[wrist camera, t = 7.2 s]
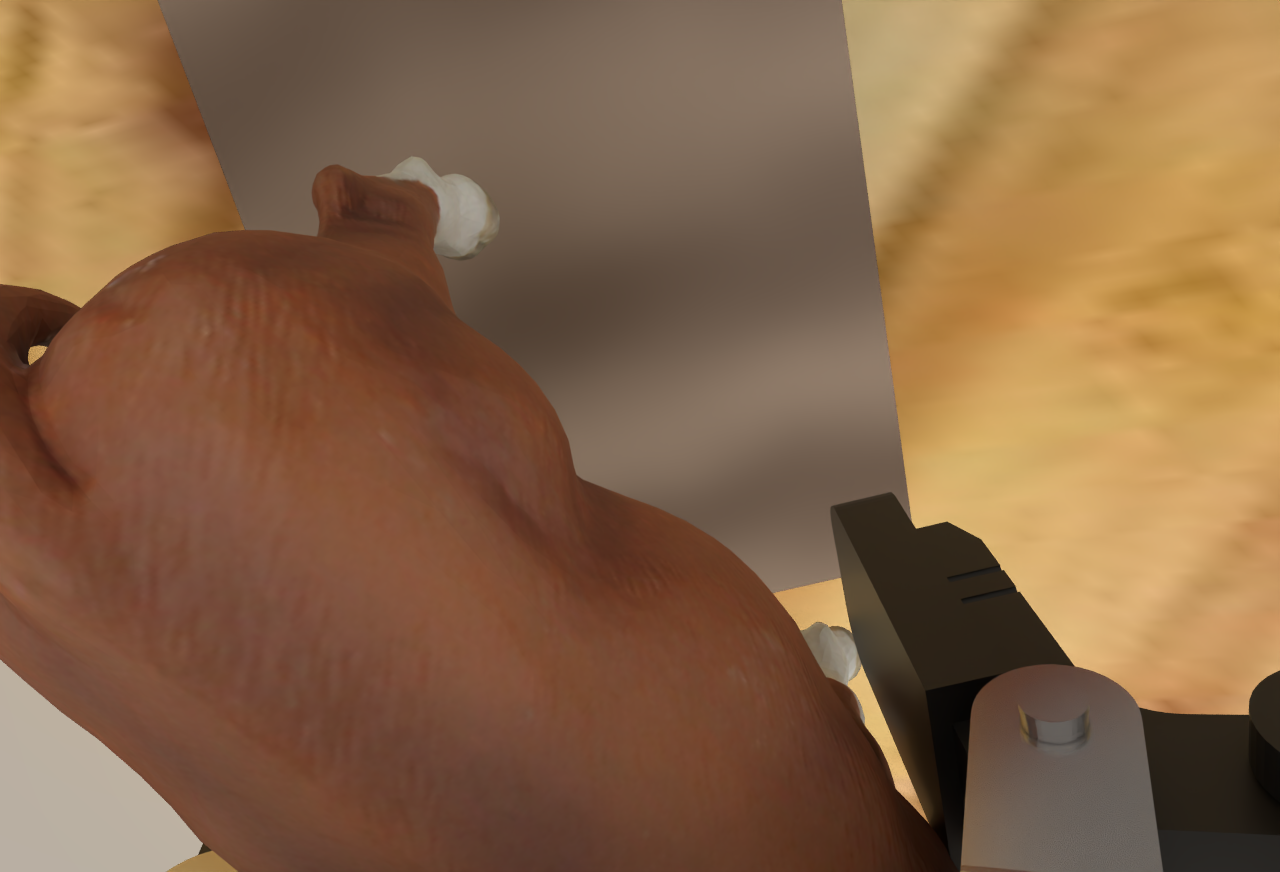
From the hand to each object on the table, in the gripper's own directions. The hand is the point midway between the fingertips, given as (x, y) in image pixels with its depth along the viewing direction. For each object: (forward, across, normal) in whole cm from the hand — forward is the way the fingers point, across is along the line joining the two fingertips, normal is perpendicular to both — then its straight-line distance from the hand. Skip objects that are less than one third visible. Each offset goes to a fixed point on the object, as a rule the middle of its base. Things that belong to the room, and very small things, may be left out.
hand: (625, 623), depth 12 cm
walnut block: (+19, 0, 0) cm, 19 cm away
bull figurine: (+2, 0, 0) cm, 2 cm away
